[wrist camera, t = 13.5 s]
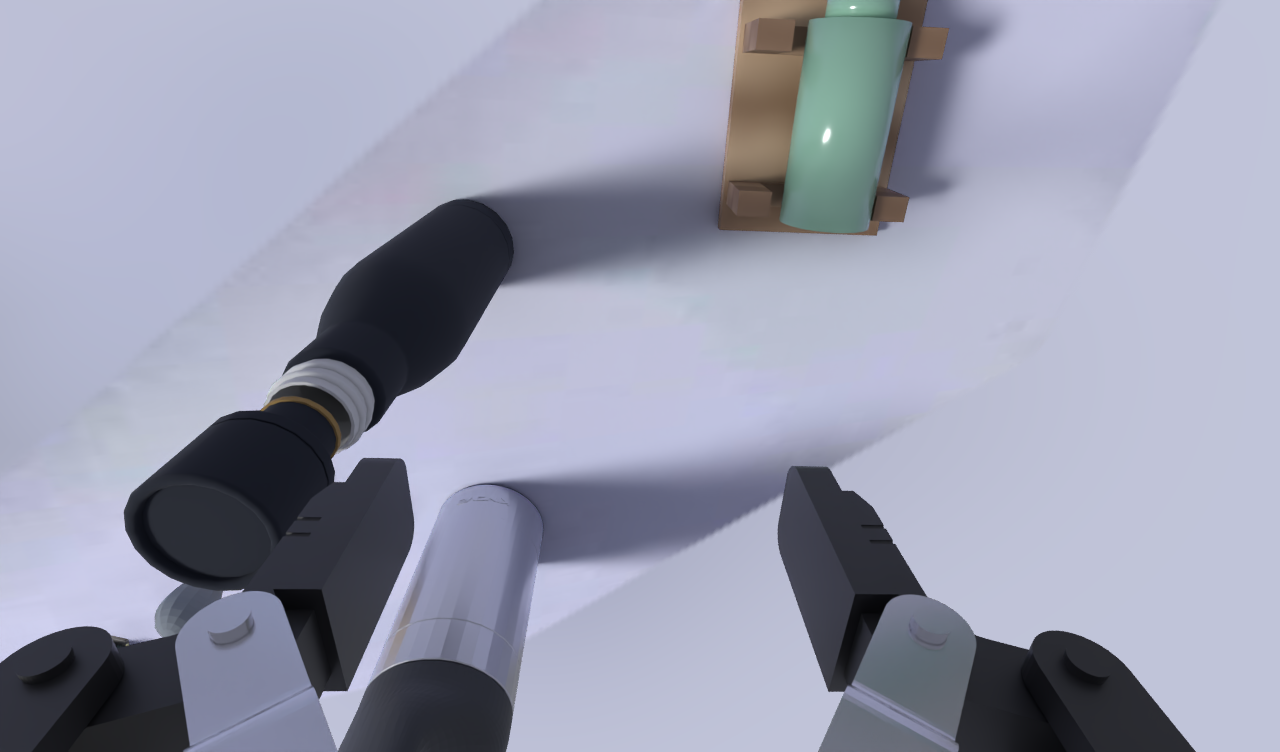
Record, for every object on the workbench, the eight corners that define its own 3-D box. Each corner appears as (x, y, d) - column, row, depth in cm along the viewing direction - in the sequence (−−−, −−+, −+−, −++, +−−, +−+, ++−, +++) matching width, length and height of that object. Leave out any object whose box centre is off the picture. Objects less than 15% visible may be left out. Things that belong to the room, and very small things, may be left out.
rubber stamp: (282, 475, 50) (190, 582, 39) (327, 523, 53) (253, 636, 42) (191, 520, 52) (80, 634, 41) (239, 564, 54) (146, 683, 44)
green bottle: (842, 214, 41) (885, 233, 36) (766, 213, 40) (800, 232, 35) (899, -82, 34) (963, -108, 29) (808, -92, 33) (859, -121, 28)
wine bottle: (527, 224, 42) (361, 486, 15) (495, 303, 44) (304, 653, 17) (437, 182, 40) (71, 389, 13) (410, 267, 43) (55, 585, 16)
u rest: (871, 232, 43) (900, 250, 38) (717, 226, 42) (729, 244, 38) (920, 1, 36) (962, -10, 32) (741, -9, 36) (758, -22, 31)
